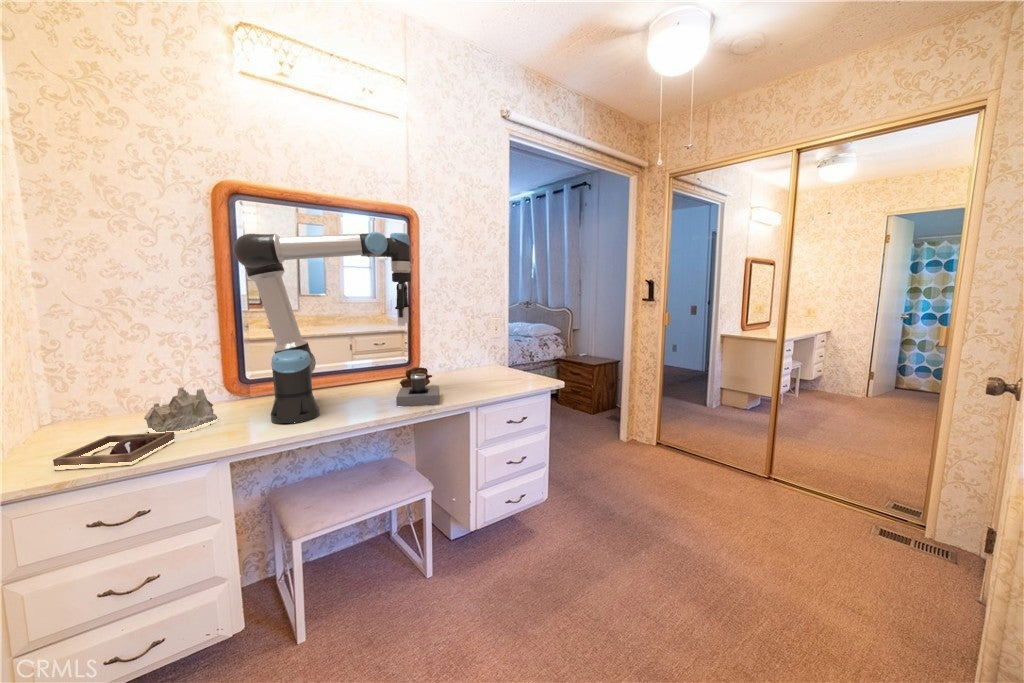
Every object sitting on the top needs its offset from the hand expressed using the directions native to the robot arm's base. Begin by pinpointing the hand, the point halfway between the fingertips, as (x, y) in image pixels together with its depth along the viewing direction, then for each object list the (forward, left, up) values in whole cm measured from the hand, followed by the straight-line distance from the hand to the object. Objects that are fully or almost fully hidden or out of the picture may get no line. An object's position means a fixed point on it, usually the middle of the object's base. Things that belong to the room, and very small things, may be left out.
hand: (403, 324), depth 160 cm
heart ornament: (-68, -47, -31) cm, 88 cm away
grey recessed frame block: (+6, -9, -31) cm, 32 cm away
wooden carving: (+4, +10, -31) cm, 33 cm away
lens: (+6, -9, -30) cm, 32 cm away
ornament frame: (-72, -47, -31) cm, 92 cm away
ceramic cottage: (-69, -26, -31) cm, 80 cm away
